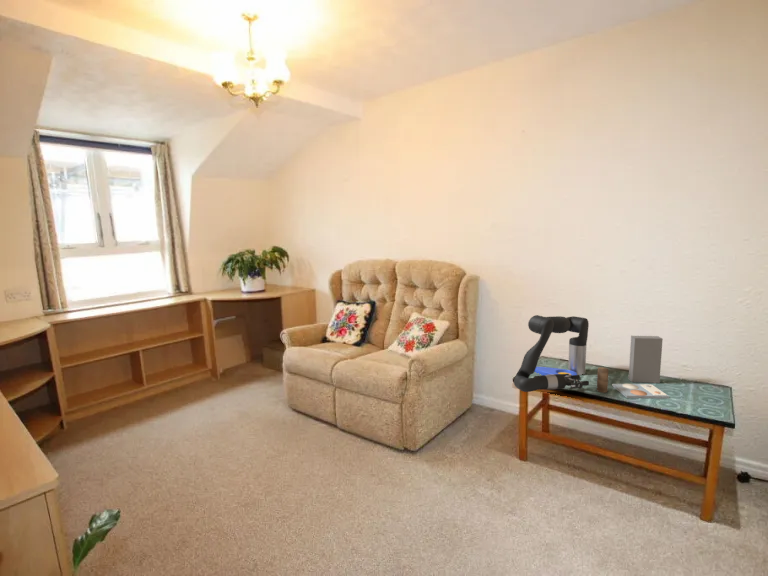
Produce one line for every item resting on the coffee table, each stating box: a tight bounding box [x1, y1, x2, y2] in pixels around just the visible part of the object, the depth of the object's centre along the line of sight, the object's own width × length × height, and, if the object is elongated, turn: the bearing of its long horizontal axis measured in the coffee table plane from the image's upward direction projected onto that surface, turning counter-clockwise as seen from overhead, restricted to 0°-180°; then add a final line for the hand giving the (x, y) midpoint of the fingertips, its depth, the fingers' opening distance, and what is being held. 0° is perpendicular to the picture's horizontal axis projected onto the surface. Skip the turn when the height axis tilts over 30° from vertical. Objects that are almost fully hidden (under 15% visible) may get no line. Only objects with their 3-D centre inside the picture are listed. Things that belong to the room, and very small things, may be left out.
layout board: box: [611, 383, 670, 399], centre depth 214 cm, size 16×20×2 cm
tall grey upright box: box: [627, 335, 663, 384], centre depth 227 cm, size 14×6×25 cm, turn 80°
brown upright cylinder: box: [596, 366, 610, 394], centre depth 216 cm, size 5×5×12 cm
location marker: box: [534, 366, 577, 376], centre depth 241 cm, size 13×3×25 cm
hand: (583, 380), depth 215 cm, fingers open, 8 cm apart
